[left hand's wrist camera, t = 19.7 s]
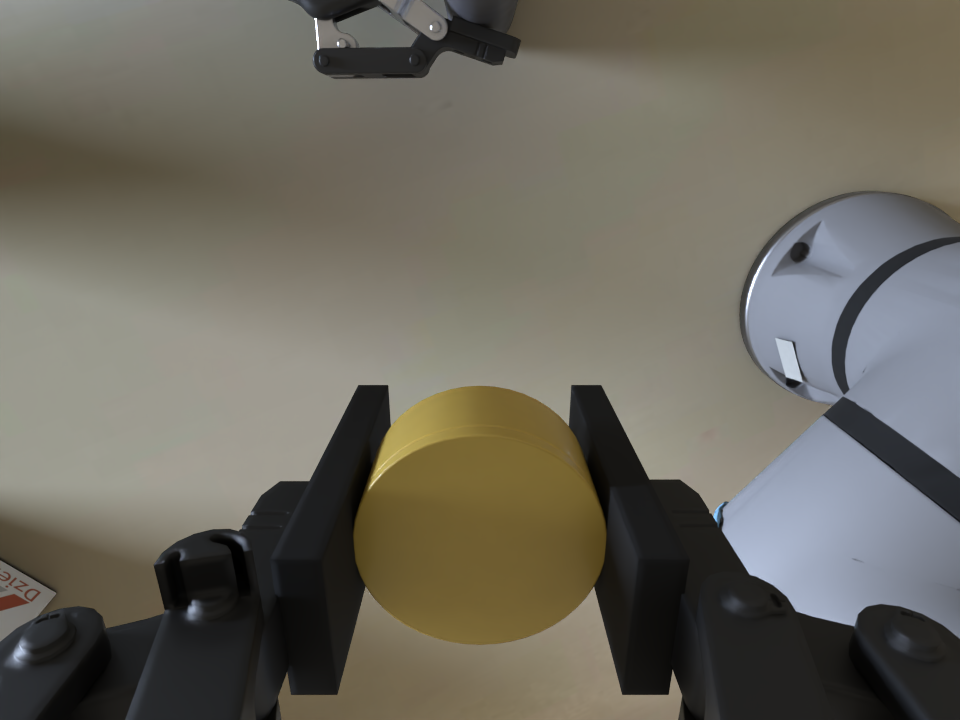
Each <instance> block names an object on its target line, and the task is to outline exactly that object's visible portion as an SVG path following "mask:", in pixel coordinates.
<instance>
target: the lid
mask: <svg viewBox="0 0 960 720" xmlns="http://www.w3.org/2000/svg"><path fill="white" fill-rule="evenodd" d="M606 535H607V527H606V521H605V517H604V513H603V510H602V507H601V504H600V501H599V498H598V495H597V492H596V489H595V486H594V484H593V481H592V478H591V475H590V472H589V469H588V466H587V463H586V460H585V457H584V454H583V451H582V449H581V446H580V444H579V442H578V440H577V438H576V436H575V435H574V433H573V432H572V431H571V429H570V428H569V426H568V425H567V424H566V423H565V422H564V421H563V420H562V419H561V417H560V416H559V415H557V414H556V413H555V412H554V411H552V410H551V409H550V408H549V407H547V406H546V405H544V404H542V403H541V402H539V401H538V400H536V399H534V398H531V397H529V396H527V395H525V394H522V393H519V392H516V391H513V390H510V389H504V388H499V387H490V386H470V387H461V388H456V389H450V390H447V391H444V392H441V393H437V394H435V395H433V396H431V397H428V398H426V399H424V400H422V401H420V402H419V403H417V404H416V405H414V406H412V407H411V408H410V409H408V410H407V411H406V412H405V413H404V414H402V415H401V416H400V417H399V418H398V419H397V420H396V421H395V423H394V424H393V425H392V426H391V427H390V429H389V430H388V432H387V433H386V434H385V436H384V438H383V440H382V442H381V444H380V446H379V448H378V450H377V453H376V456H375V459H374V462H373V465H372V468H371V471H370V474H369V477H368V480H367V483H366V486H365V489H364V492H363V495H362V498H361V501H360V504H359V507H358V510H357V514H356V517H355V521H354V527H353V541H354V552H355V561H356V565H357V567H358V570H359V573H360V576H361V578H362V580H363V582H364V584H365V586H366V587H367V589H368V590H369V592H370V593H371V594H372V596H373V597H374V599H375V600H376V601H377V602H378V603H379V604H380V605H381V606H382V607H383V608H384V609H385V610H386V611H387V612H388V613H390V614H391V615H392V616H393V617H394V618H396V619H397V620H399V621H400V622H402V623H403V624H405V625H407V626H408V627H410V628H412V629H414V630H416V631H418V632H420V633H423V634H426V635H428V636H431V637H434V638H437V639H441V640H445V641H449V642H455V643H462V644H476V645H484V644H498V643H505V642H511V641H515V640H519V639H522V638H526V637H529V636H531V635H534V634H537V633H539V632H541V631H543V630H545V629H547V628H549V627H551V626H553V625H555V624H556V623H558V622H559V621H561V620H562V619H564V618H565V617H566V616H568V615H569V614H570V613H571V612H572V611H574V610H575V609H576V608H577V607H578V606H579V605H580V604H581V603H582V601H583V600H584V599H585V598H586V597H587V595H588V594H589V593H590V591H591V590H592V588H593V587H594V585H595V583H596V581H597V579H598V577H599V575H600V573H601V570H602V567H603V564H604V557H605V547H606Z"/></svg>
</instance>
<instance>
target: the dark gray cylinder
mask: <svg viewBox="0 0 960 720" xmlns="http://www.w3.org/2000/svg"><path fill="white" fill-rule="evenodd" d="M444 1H445V6H446V10H447V15H448V19H449V20H451V21H452V18H453V16H456V17H459V18H462V19H465V20H467V21H470V22H473V23H476V24H479V25H482V26H485V27H488V28H490V29H493V30H496V31H499V32H502V33H506V32H507V30H508V29H509V27H510V25H511V23H512V20H513V17H514V13H515V10H516V6H517V3H518V0H444Z"/></svg>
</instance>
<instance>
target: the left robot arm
mask: <svg viewBox="0 0 960 720" xmlns="http://www.w3.org/2000/svg"><path fill="white" fill-rule="evenodd" d="M740 327H741V333H742V337H743V340H744V344H745V346H746V348H747V351H748V353H749V355H750V356H751V358H752V360H753V361H754V362H755V364H756V365H757V366H758V367H759V368H760V370H761V371H762V372H763V373H765V374H766V375H767V376H768V377H769V378H770V379H772V380H773V381H774V382H775V383H777V384H778V385H780V386H781V387H783V388H784V389H786V390H788V391H790V392H792V393H794V394H796V395H798V396H800V397H803V398H805V399H808V400H811V401H815V402H819V403H824V404H829V405H833V406H832V407H831V408H830V409H829V410H828V411H827V412H826V413H825V414H823V415H822V416H821V417H820V418H819V419H818V420H817V421H815V422H814V423H813V424H812V425H811V426H810V427H809V428H808V429H807V430H806V431H805V432H804V433H803V434H802V435H800V436H799V437H798V438H797V439H796V440H795V441H794V442H793V443H792V444H791V445H790V446H789V447H788V448H787V449H785V450H784V451H783V452H782V453H781V454H780V455H779V456H778V457H777V458H776V459H775V460H774V461H773V462H772V463H770V464H769V465H768V466H767V467H766V468H765V469H764V470H763V471H762V472H761V473H760V474H759V475H758V476H757V477H755V478H754V479H753V480H752V481H751V482H750V483H749V484H748V485H747V486H746V487H745V488H744V489H743V490H742V491H740V492H739V493H738V494H737V495H736V496H735V497H734V498H733V499H732V500H731V501H730V502H724V503H722V504H721V505H720V506H719V507H718V508H717V509H716V511H715V514H714V517H713V516H712V514H709V509H708V508H707V506H706V505H705V503H704V501H703V500H702V498H701V497H700V495H699V494H698V493H697V492H696V491H694V490H693V489H692V488H690V487H689V486H688V485H686V484H685V483H684V482H682V481H681V480H649V478H648V476H647V474H646V472H645V470H644V468H643V466H642V464H641V462H640V460H639V459H638V457H637V455H636V453H635V451H634V449H633V447H632V445H631V443H630V441H629V439H628V437H627V435H626V433H625V431H624V429H623V427H622V425H621V423H620V421H619V419H618V417H617V415H616V413H615V411H614V409H613V408H612V406H611V404H610V402H609V400H608V398H607V396H606V394H605V392H604V390H603V388H602V386H601V385H572V386H571V402H570V418H569V428H570V429H571V431H572V432H573V433H574V435H575V436H576V438H577V440H578V442H579V444H580V446H581V449H582V451H583V454H584V457H585V460H586V463H587V466H588V469H589V472H590V475H591V478H592V481H593V484H594V486H595V489H596V492H597V495H598V498H599V501H600V504H601V507H602V510H603V513H604V517H605V521H606V527H607V535H606V547H605V557H604V564H603V567H602V570H601V573H600V575H599V577H598V579H597V581H596V583H595V585H594V587H595V591H596V595H597V599H598V603H599V607H600V611H601V614H602V618H603V622H604V626H605V630H606V634H607V637H608V641H609V645H610V649H611V653H612V657H613V661H614V664H615V668H616V672H617V676H618V680H619V684H620V687H621V691H622V695H669V689H670V682H671V676H672V670H673V671H674V674H675V677H676V679H677V682H678V685H679V688H680V690H681V693H682V701H681V707H680V713H679V719H678V720H960V224H959V223H958V222H956V221H955V220H953V219H952V218H951V217H950V216H948V215H947V214H946V213H945V212H944V211H942V210H940V209H939V208H937V207H936V206H934V205H932V204H930V203H927V202H924V201H922V200H919V199H917V198H913V197H910V196H907V195H902V194H897V193H888V192H878V191H861V192H852V193H847V194H843V195H839V196H836V197H832V198H829V199H827V200H824V201H822V202H820V203H817V204H816V205H814V206H812V207H810V208H808V209H806V210H805V211H803V212H801V213H800V214H798V215H797V216H796V217H794V218H793V219H791V220H790V221H789V222H788V223H787V224H785V225H784V226H783V227H782V228H781V229H780V230H779V231H778V232H777V233H776V234H775V235H774V236H773V237H772V238H771V239H770V240H769V242H768V243H767V244H766V245H765V247H764V248H763V249H762V251H761V252H760V254H759V255H758V257H757V259H756V260H755V262H754V264H753V266H752V268H751V270H750V272H749V274H748V277H747V279H746V282H745V285H744V289H743V293H742V297H741V304H740ZM390 427H391V424H390V408H389V391H388V385H358V387H357V389H356V391H355V393H354V395H353V397H352V399H351V401H350V403H349V405H348V407H347V409H346V411H345V413H344V415H343V417H342V419H341V421H340V422H339V424H338V426H337V428H336V430H335V432H334V434H333V436H332V438H331V440H330V442H329V444H328V446H327V448H326V450H325V452H324V454H323V456H322V458H321V460H320V462H319V464H318V466H317V468H316V470H315V472H314V473H313V475H312V477H311V479H310V481H280V482H279V483H277V484H276V485H275V486H273V487H272V488H271V489H269V490H268V491H267V492H265V493H264V494H263V495H261V497H260V498H259V500H258V502H257V503H256V505H255V506H254V508H253V510H252V511H251V515H249V516H248V518H247V519H246V521H245V522H244V524H243V525H242V529H240V530H239V531H235V530H231V529H213V530H209V531H204V532H200V533H196V534H193V535H191V536H189V537H187V538H184V539H182V540H180V541H178V542H176V543H175V544H173V545H172V546H171V547H169V548H168V549H167V550H165V551H164V552H163V553H162V554H161V555H160V557H159V558H158V560H157V561H156V562H155V564H154V568H155V572H156V576H157V580H158V584H159V588H160V592H161V596H162V600H163V604H164V609H165V612H164V614H161V615H158V616H155V617H152V618H148V619H145V620H140V621H136V622H132V623H128V624H123V625H119V626H115V627H111V628H105V624H104V621H103V617H102V616H101V615H100V614H99V613H98V612H97V611H96V610H94V609H92V608H86V607H80V606H77V607H70V608H62V609H58V610H55V611H52V612H49V613H46V614H43V615H40V616H38V617H36V618H34V619H32V620H30V621H29V622H27V623H25V624H23V625H21V626H20V627H18V628H16V629H15V630H14V631H13V632H11V633H10V634H9V635H8V636H7V637H5V638H4V639H3V640H2V641H0V720H281V714H280V707H279V701H278V695H279V692H280V689H281V687H282V684H283V681H284V679H285V676H286V673H287V672H288V678H289V685H290V691H291V695H337V694H338V690H339V686H340V682H341V678H342V675H343V671H344V667H345V663H346V659H347V655H348V651H349V648H350V644H351V640H352V636H353V632H354V628H355V625H356V621H357V617H358V613H359V609H360V605H361V602H362V598H363V594H364V590H365V584H364V582H363V580H362V578H361V576H360V573H359V570H358V567H357V565H356V561H355V552H354V541H353V527H354V521H355V517H356V514H357V510H358V507H359V504H360V501H361V498H362V495H363V492H364V489H365V486H366V483H367V480H368V477H369V474H370V471H371V468H372V465H373V462H374V459H375V456H376V453H377V450H378V448H379V446H380V444H381V442H382V440H383V438H384V436H385V434H386V433H387V432H388V430H389V429H390Z"/></svg>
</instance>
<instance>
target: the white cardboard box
mask: <svg viewBox="0 0 960 720" xmlns="http://www.w3.org/2000/svg"><path fill="white" fill-rule="evenodd" d="M56 594H57V593H55V592H54V591H52V590H50V589H48V588H47V587H45V586H43V585H42V584H40V583H38V582H36V581H35V580H33V579H31V578H30V577H28V576H26V575H25V574H23V573H21V572H19V571H18V570H16V569H14V568H13V567H11V566H9V565H7V564H6V563H4V562H2V561H1V560H0V641H2V640H3V639H4V638H5V637H7V636H8V635H9V634H10V633H11V632H13V631H14V630H15V629H16V628H18V627H20V626H21V625H23V624H25V623H27V622H29V621H30V620H32V619H34V618H36V617H37V616H38V615H39V614H40V613H41V611H42V610H43V609H44V608H45V607H46V605H47V604H48V603H49V602H50V601H51V599H52V598H53V597H54V596H55V595H56Z"/></svg>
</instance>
